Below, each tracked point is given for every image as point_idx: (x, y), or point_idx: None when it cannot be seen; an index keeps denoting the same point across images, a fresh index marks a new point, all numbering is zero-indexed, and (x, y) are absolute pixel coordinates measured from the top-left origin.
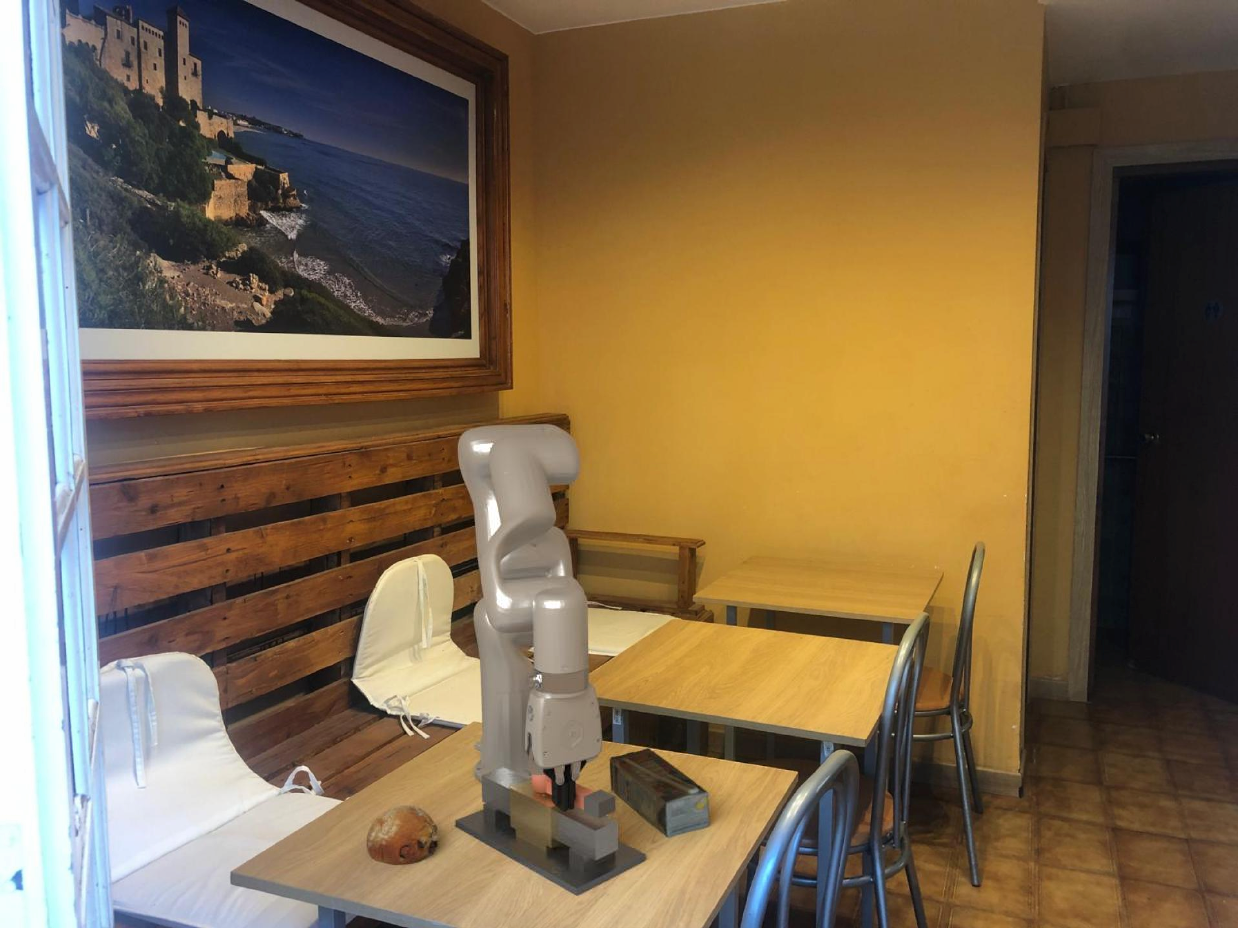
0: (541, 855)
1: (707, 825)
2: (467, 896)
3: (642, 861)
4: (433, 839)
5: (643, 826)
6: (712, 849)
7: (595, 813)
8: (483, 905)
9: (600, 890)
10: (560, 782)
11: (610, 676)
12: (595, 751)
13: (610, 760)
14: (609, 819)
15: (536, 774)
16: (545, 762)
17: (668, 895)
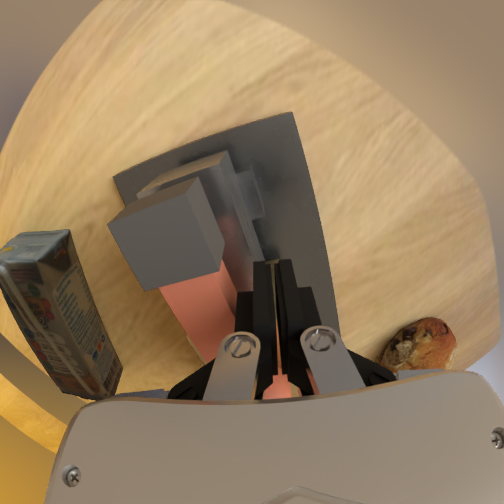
0: (295, 257)
1: (21, 233)
2: (433, 212)
3: (124, 170)
4: (410, 341)
5: (95, 276)
6: (27, 168)
7: (201, 195)
8: (430, 176)
9: (239, 106)
10: (318, 332)
11: None
12: (106, 422)
13: None
14: None
15: (423, 370)
16: (479, 392)
17: (132, 47)
